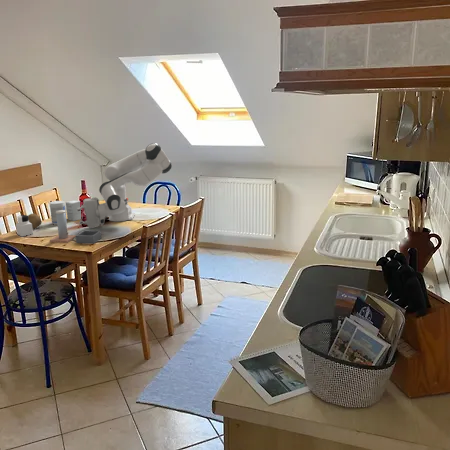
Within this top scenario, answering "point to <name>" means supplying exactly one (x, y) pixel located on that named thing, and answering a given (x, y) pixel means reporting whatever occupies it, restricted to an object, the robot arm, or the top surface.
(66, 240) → the terracotta tile
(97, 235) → the parts tub
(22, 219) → the medicine bottle
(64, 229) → the canister
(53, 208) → the supplement tub
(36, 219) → the natural sponge
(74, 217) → the supplement box
